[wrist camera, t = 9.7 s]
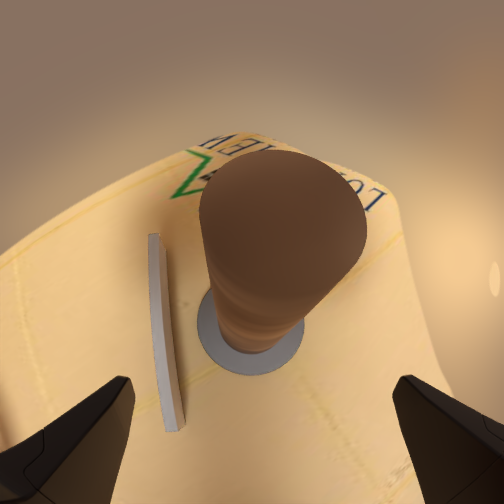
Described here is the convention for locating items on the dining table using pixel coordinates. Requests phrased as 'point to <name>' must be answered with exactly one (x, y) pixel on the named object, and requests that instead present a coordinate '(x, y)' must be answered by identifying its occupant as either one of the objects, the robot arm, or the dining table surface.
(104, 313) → the dining table surface
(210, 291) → the resting pad
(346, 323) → the dining table surface
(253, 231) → the pepper mill
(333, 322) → the dining table surface
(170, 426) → the low wall
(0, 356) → the dining table surface
